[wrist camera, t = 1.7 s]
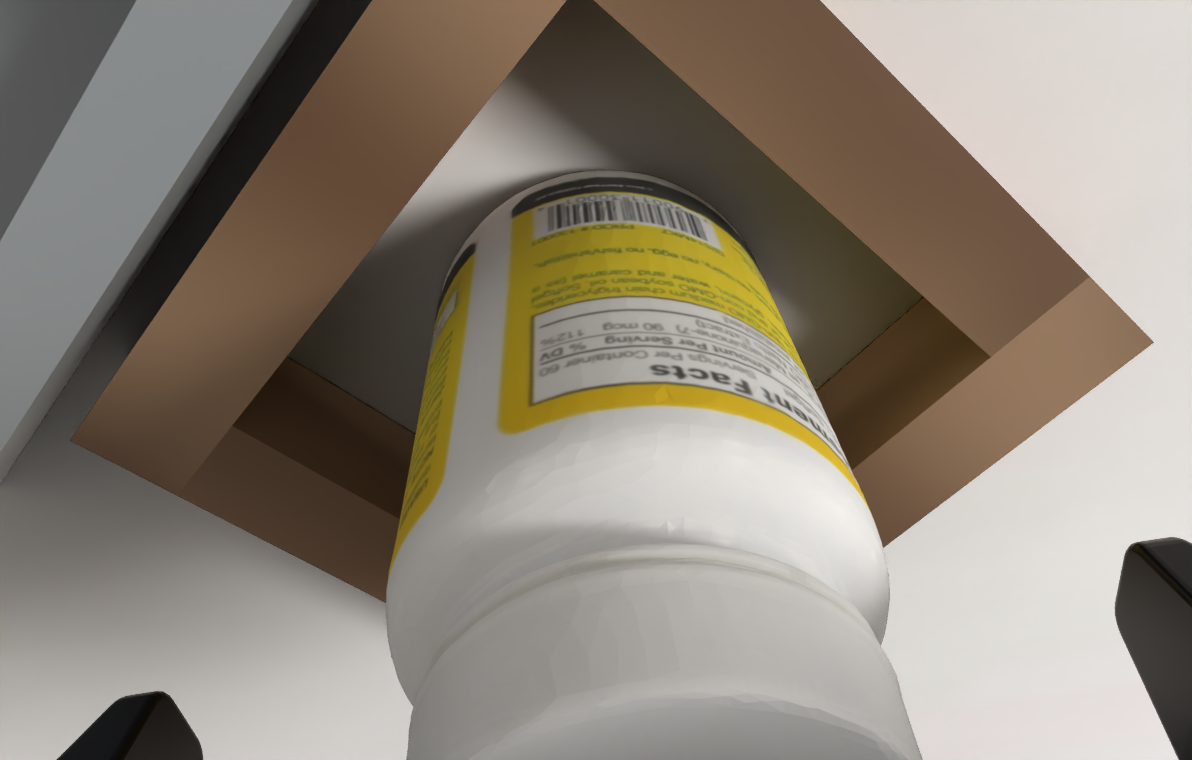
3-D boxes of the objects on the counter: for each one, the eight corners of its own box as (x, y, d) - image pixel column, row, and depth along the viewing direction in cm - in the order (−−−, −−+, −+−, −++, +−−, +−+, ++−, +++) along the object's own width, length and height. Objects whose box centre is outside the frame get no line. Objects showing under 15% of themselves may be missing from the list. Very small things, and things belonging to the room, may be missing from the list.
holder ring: (630, 642, 18) (639, 732, 16) (126, 359, 14) (70, 440, 12) (1080, 272, 14) (1154, 342, 12) (554, -262, 10) (557, -270, 8)
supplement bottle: (571, 490, 16) (593, 1078, 9) (371, 292, 13) (184, 863, 6) (822, 336, 14) (1093, 890, 7) (644, 88, 12) (784, 533, 5)
